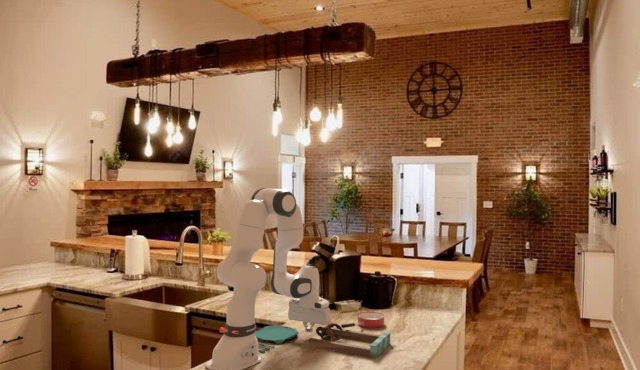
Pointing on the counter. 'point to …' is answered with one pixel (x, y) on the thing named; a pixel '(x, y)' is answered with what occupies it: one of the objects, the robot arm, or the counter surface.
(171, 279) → the counter surface
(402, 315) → the counter surface
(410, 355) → the counter surface
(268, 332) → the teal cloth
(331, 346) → the guide
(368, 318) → the frying pan
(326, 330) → the dark brown looped piece
